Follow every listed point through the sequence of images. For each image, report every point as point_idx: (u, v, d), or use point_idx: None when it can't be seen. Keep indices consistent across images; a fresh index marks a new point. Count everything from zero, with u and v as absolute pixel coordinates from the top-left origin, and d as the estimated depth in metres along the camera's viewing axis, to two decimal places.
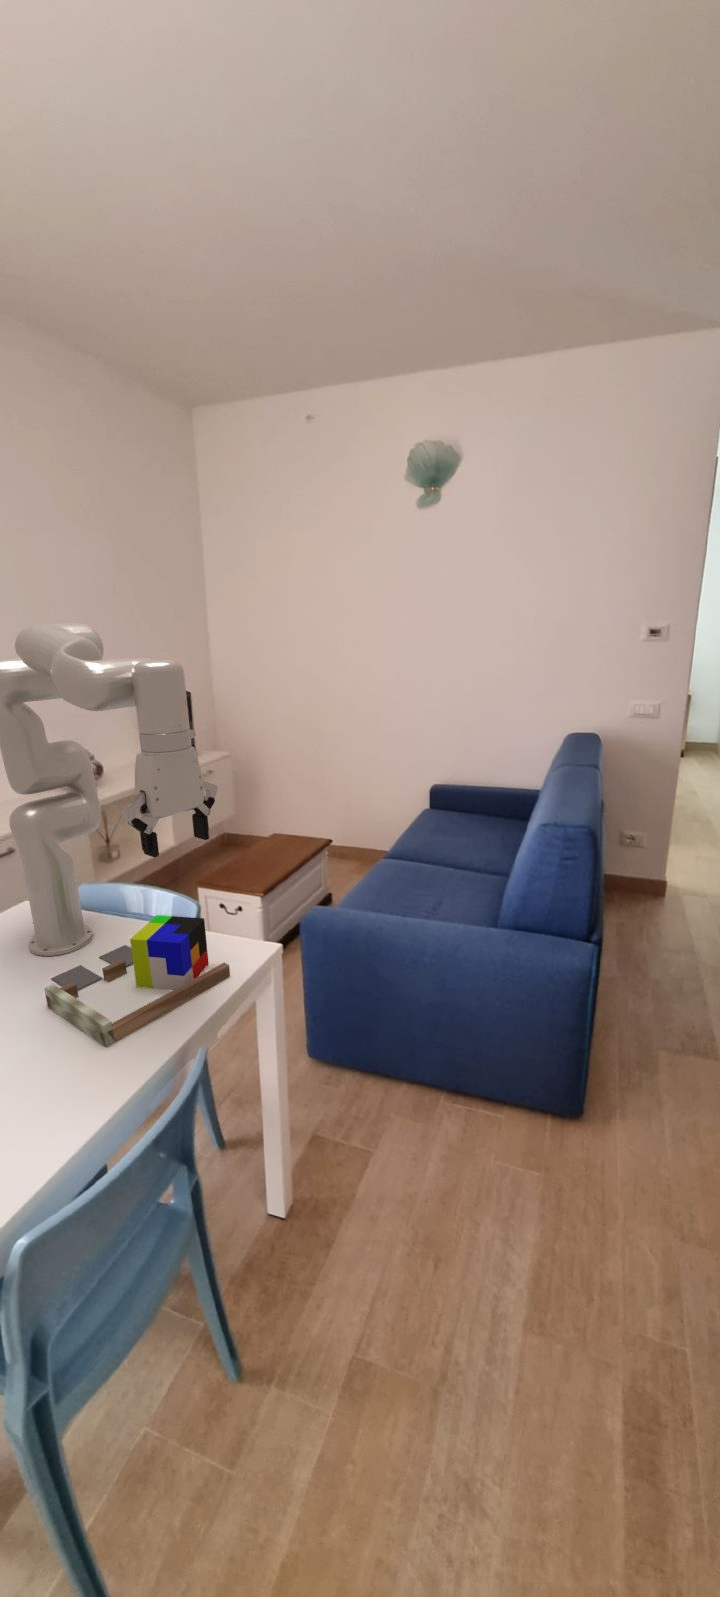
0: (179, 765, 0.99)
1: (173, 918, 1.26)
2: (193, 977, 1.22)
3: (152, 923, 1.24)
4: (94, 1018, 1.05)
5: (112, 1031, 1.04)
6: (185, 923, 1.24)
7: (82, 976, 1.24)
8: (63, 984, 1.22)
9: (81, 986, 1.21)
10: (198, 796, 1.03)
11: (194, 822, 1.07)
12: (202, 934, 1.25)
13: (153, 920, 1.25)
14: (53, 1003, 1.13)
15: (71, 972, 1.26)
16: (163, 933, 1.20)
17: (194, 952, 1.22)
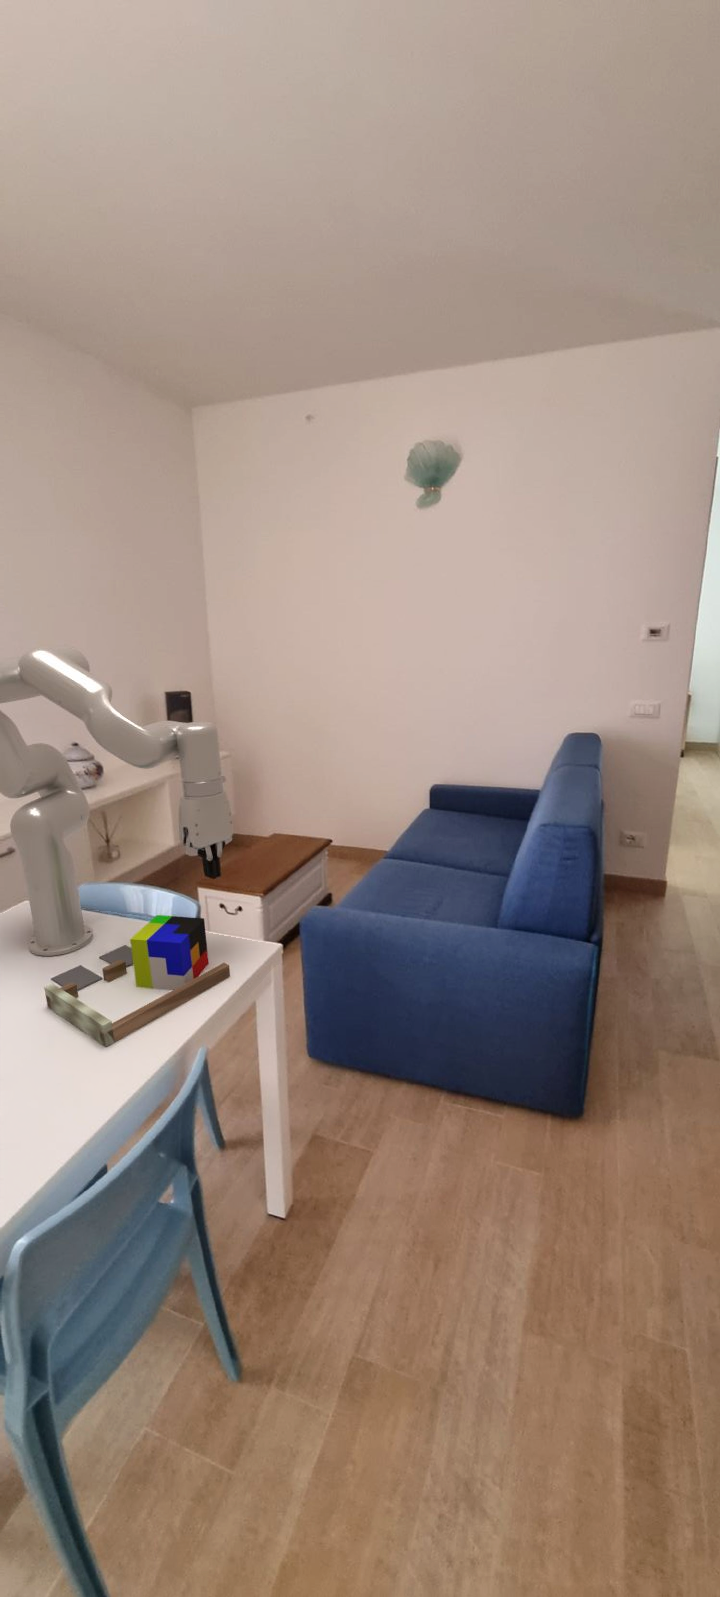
0: (214, 805, 1.23)
1: (173, 918, 1.26)
2: (193, 977, 1.22)
3: (152, 923, 1.24)
4: (94, 1018, 1.05)
5: (112, 1031, 1.04)
6: (185, 923, 1.24)
7: (82, 976, 1.24)
8: (63, 984, 1.22)
9: (81, 986, 1.21)
10: (229, 829, 1.27)
11: None
12: (202, 934, 1.25)
13: (153, 920, 1.25)
14: (53, 1003, 1.13)
15: (71, 972, 1.26)
16: (163, 933, 1.20)
17: (194, 952, 1.22)
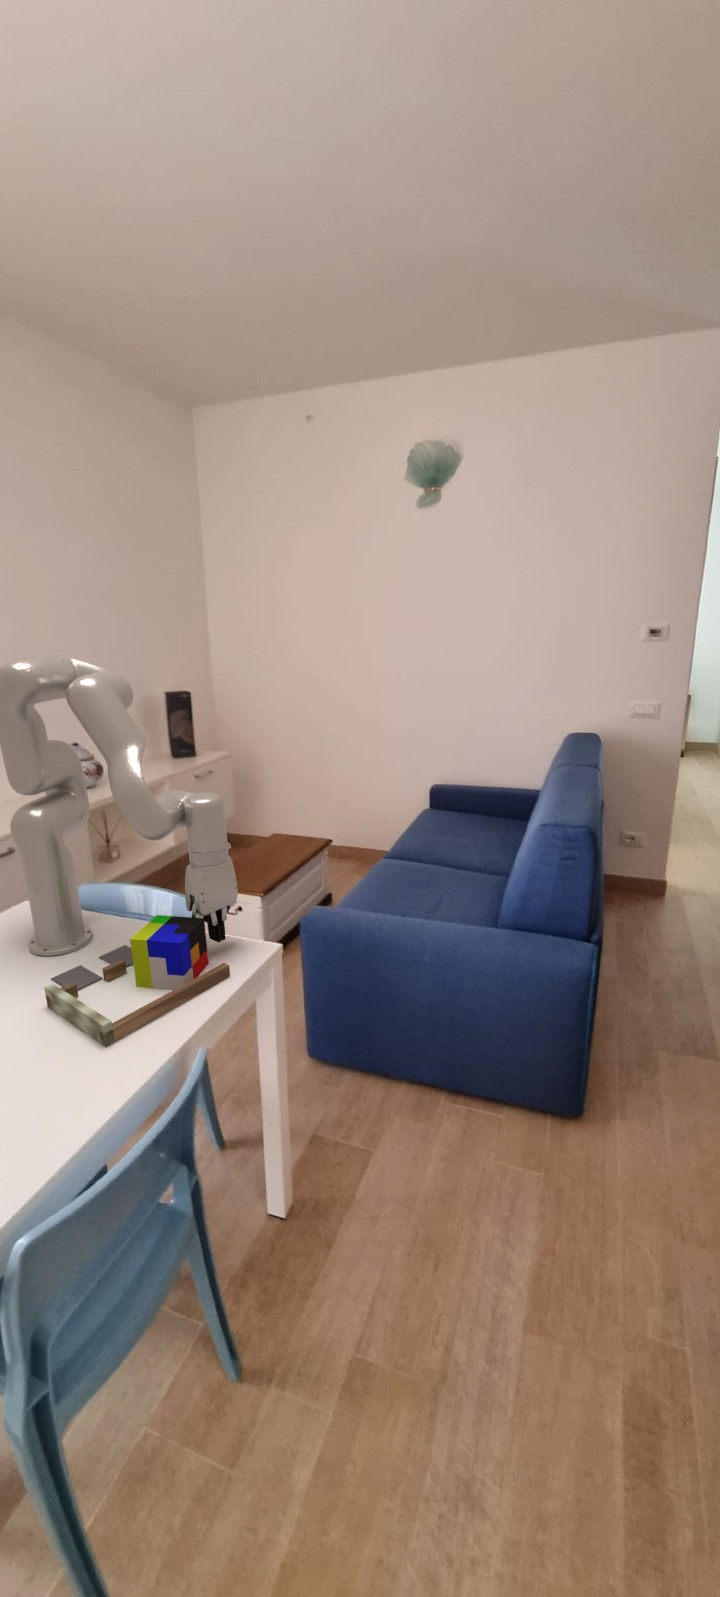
0: (219, 873, 1.27)
1: (173, 918, 1.26)
2: (193, 977, 1.22)
3: (152, 923, 1.24)
4: (94, 1018, 1.05)
5: (112, 1031, 1.04)
6: (184, 923, 1.24)
7: (82, 976, 1.24)
8: (63, 984, 1.22)
9: (81, 986, 1.21)
10: (234, 894, 1.31)
11: None
12: (202, 934, 1.25)
13: (153, 920, 1.25)
14: (53, 1003, 1.13)
15: (71, 972, 1.26)
16: (163, 933, 1.20)
17: (194, 952, 1.22)
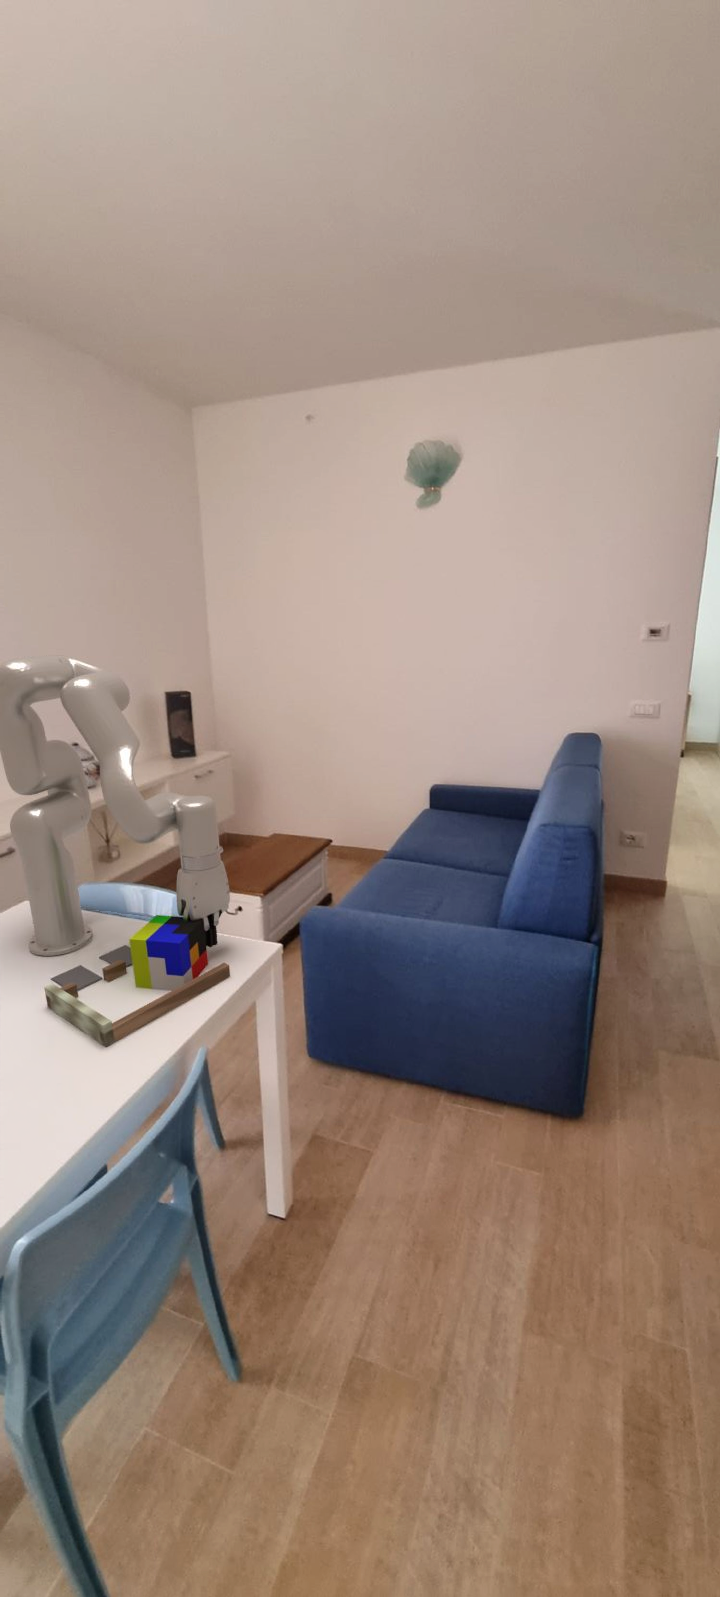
0: (211, 878, 1.25)
1: (173, 918, 1.26)
2: (192, 977, 1.22)
3: (151, 923, 1.24)
4: (94, 1018, 1.05)
5: (112, 1031, 1.04)
6: (184, 923, 1.24)
7: (82, 976, 1.24)
8: (63, 984, 1.22)
9: (81, 986, 1.21)
10: (226, 899, 1.30)
11: None
12: (201, 934, 1.25)
13: (153, 920, 1.25)
14: (53, 1003, 1.13)
15: (71, 972, 1.26)
16: (163, 933, 1.20)
17: (193, 952, 1.22)
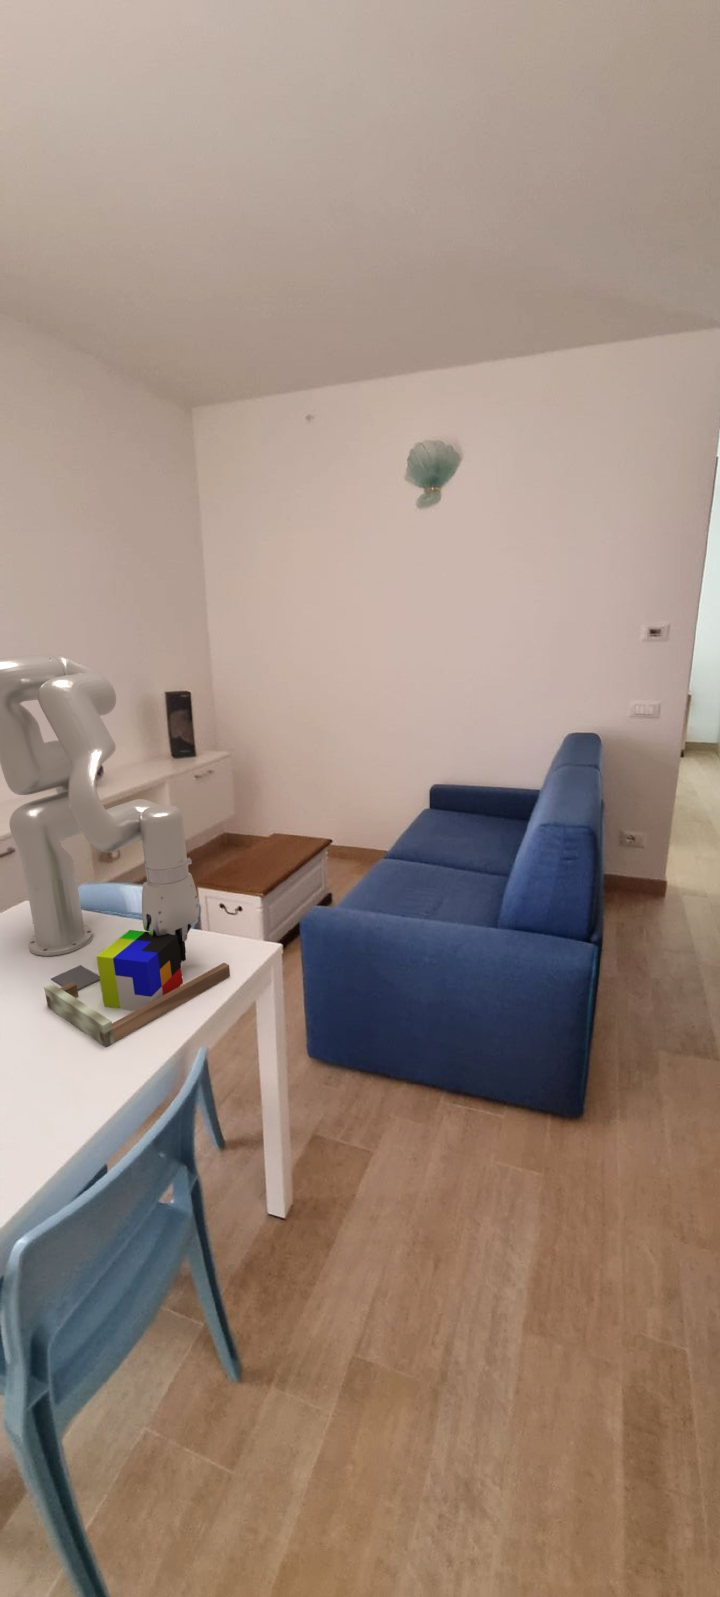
0: (178, 891, 1.19)
1: (146, 934, 1.20)
2: None
3: (123, 939, 1.18)
4: (94, 1018, 1.05)
5: (112, 1031, 1.04)
6: (156, 939, 1.17)
7: (82, 976, 1.24)
8: (63, 984, 1.22)
9: (81, 986, 1.21)
10: (194, 913, 1.24)
11: None
12: (175, 952, 1.18)
13: (125, 935, 1.19)
14: (53, 1003, 1.13)
15: (71, 972, 1.26)
16: (132, 951, 1.14)
17: (164, 971, 1.15)
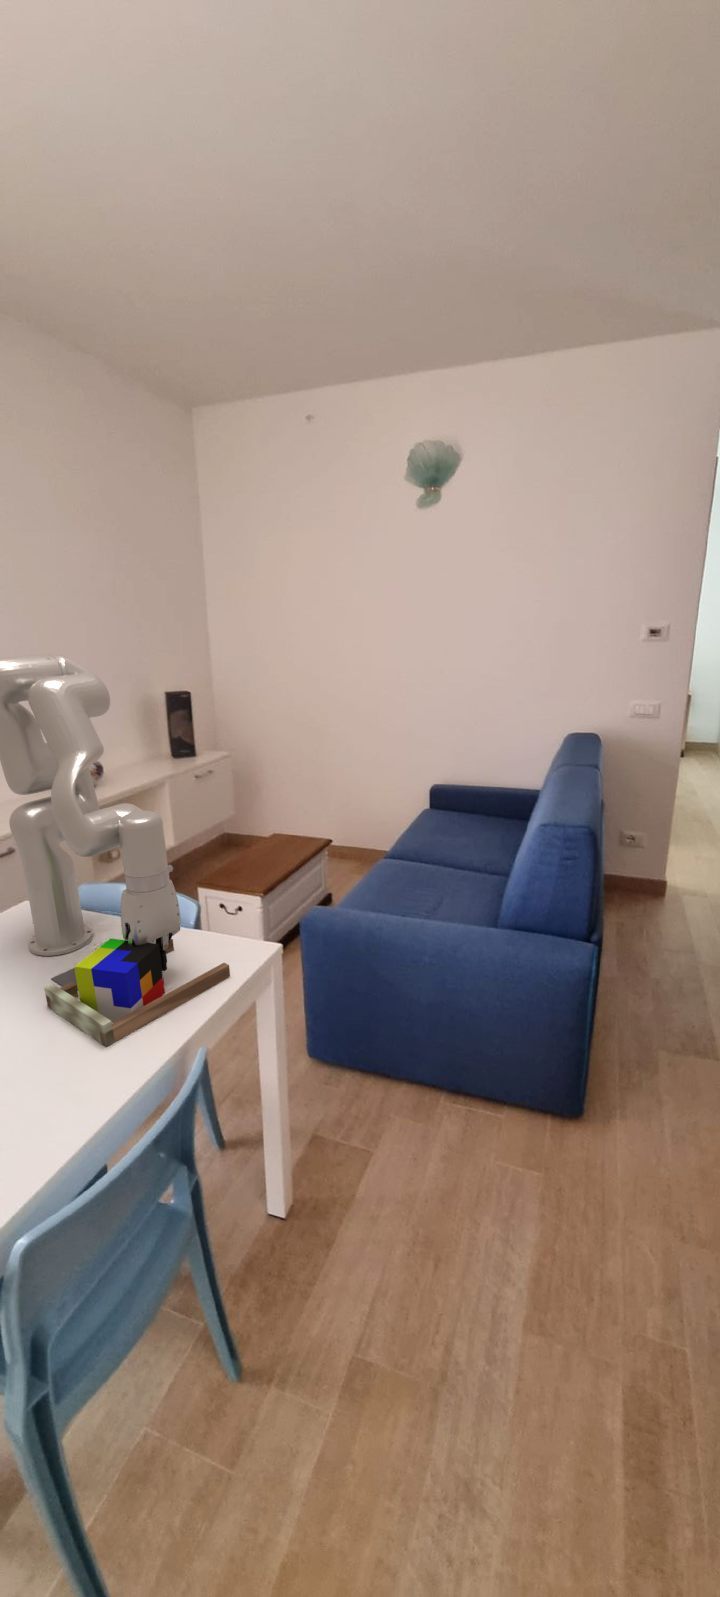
0: (158, 899, 1.16)
1: (126, 943, 1.16)
2: None
3: (102, 948, 1.15)
4: (94, 1018, 1.05)
5: (112, 1031, 1.04)
6: (137, 949, 1.14)
7: None
8: (63, 984, 1.22)
9: None
10: (176, 921, 1.20)
11: None
12: (156, 961, 1.15)
13: (105, 944, 1.16)
14: (53, 1003, 1.13)
15: (71, 972, 1.26)
16: (111, 961, 1.10)
17: (145, 982, 1.12)
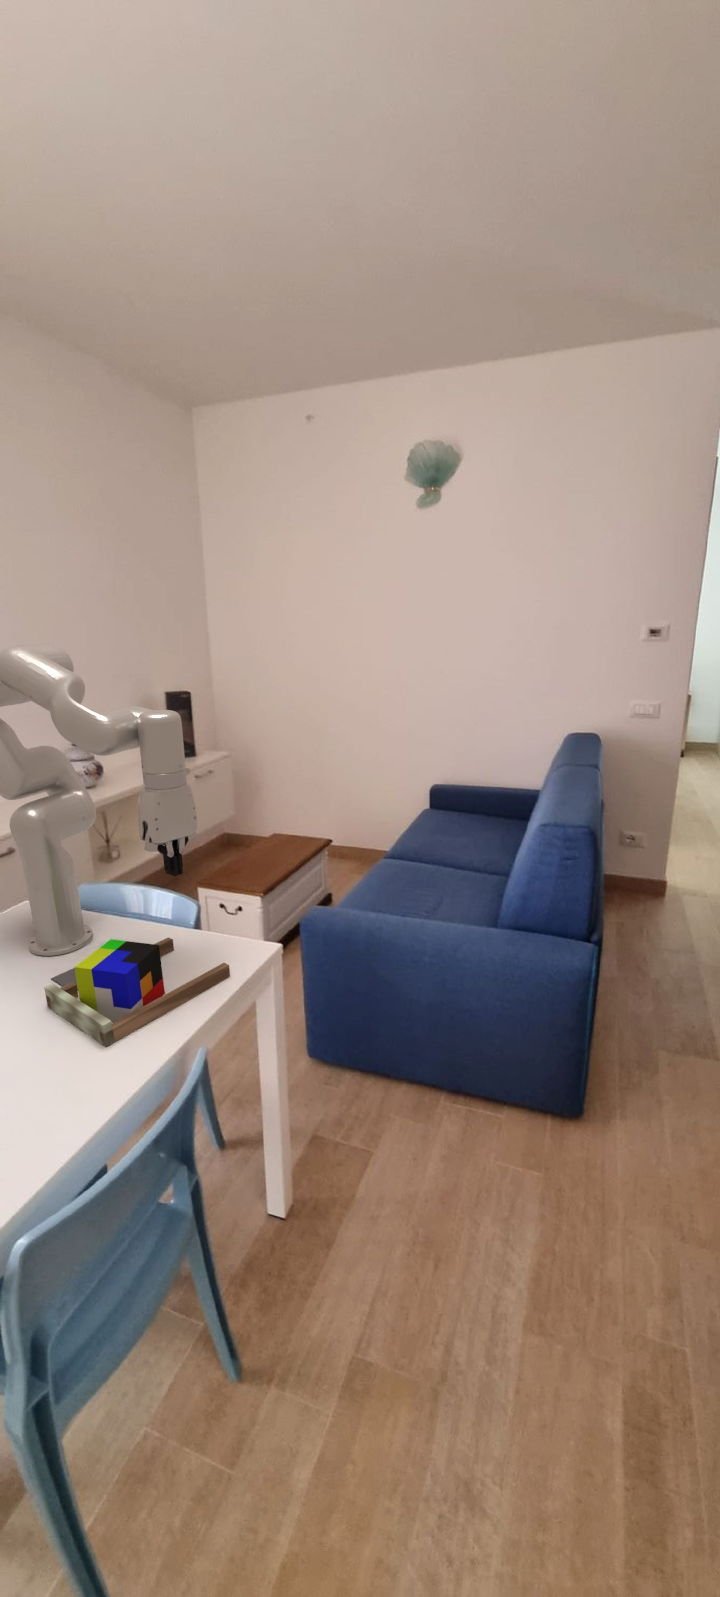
0: (176, 799, 1.16)
1: (127, 944, 1.16)
2: None
3: (103, 949, 1.15)
4: (94, 1018, 1.05)
5: (112, 1031, 1.04)
6: (137, 949, 1.14)
7: None
8: (63, 984, 1.22)
9: None
10: (192, 825, 1.20)
11: None
12: (156, 962, 1.15)
13: (105, 945, 1.16)
14: (53, 1003, 1.13)
15: (71, 972, 1.26)
16: (111, 961, 1.10)
17: (145, 982, 1.12)
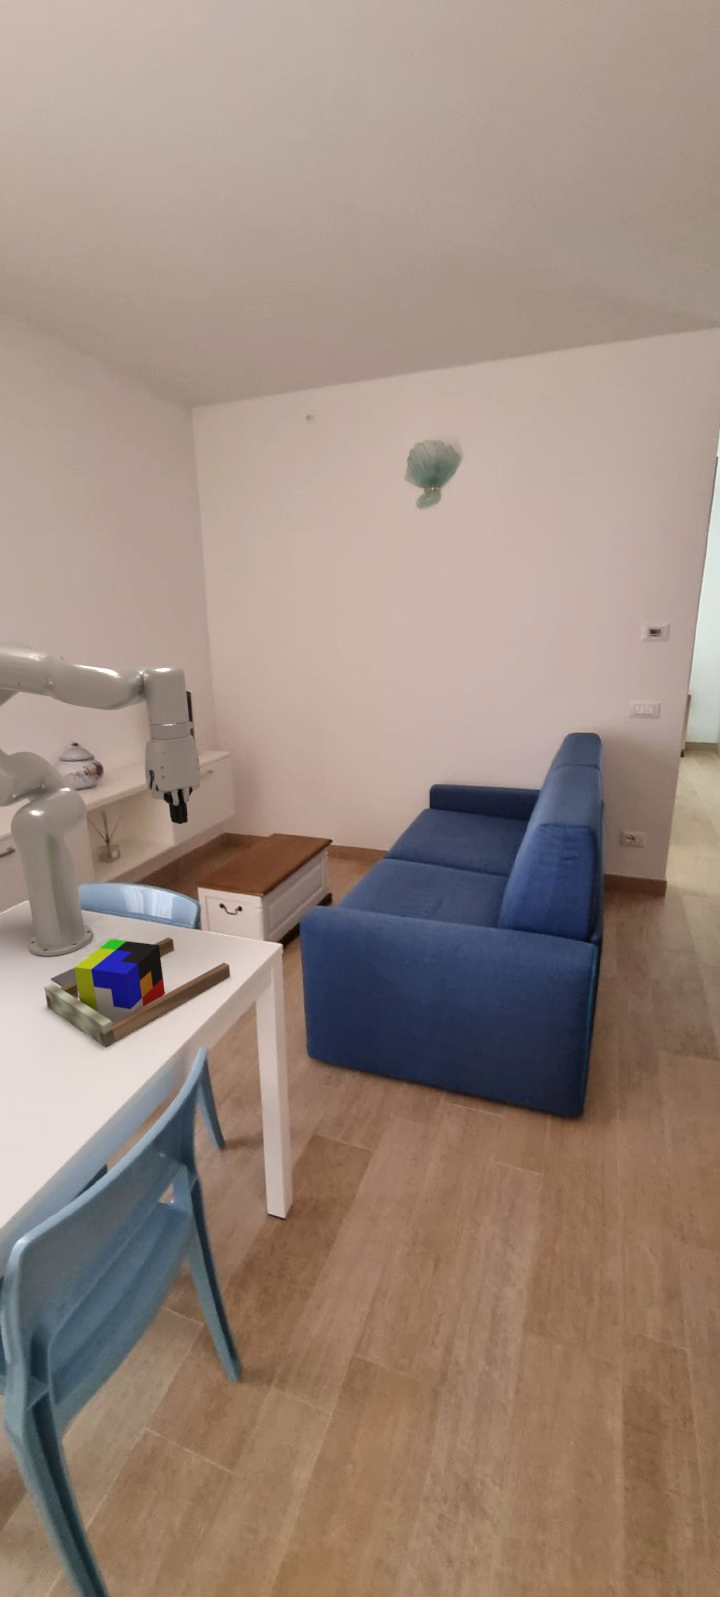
0: (180, 749, 1.24)
1: (126, 943, 1.16)
2: None
3: (103, 949, 1.15)
4: (94, 1018, 1.05)
5: (112, 1031, 1.04)
6: (137, 949, 1.14)
7: None
8: (63, 984, 1.22)
9: None
10: (196, 775, 1.28)
11: None
12: (156, 962, 1.15)
13: (105, 945, 1.16)
14: (53, 1003, 1.13)
15: (71, 972, 1.26)
16: (111, 961, 1.10)
17: (145, 982, 1.12)
